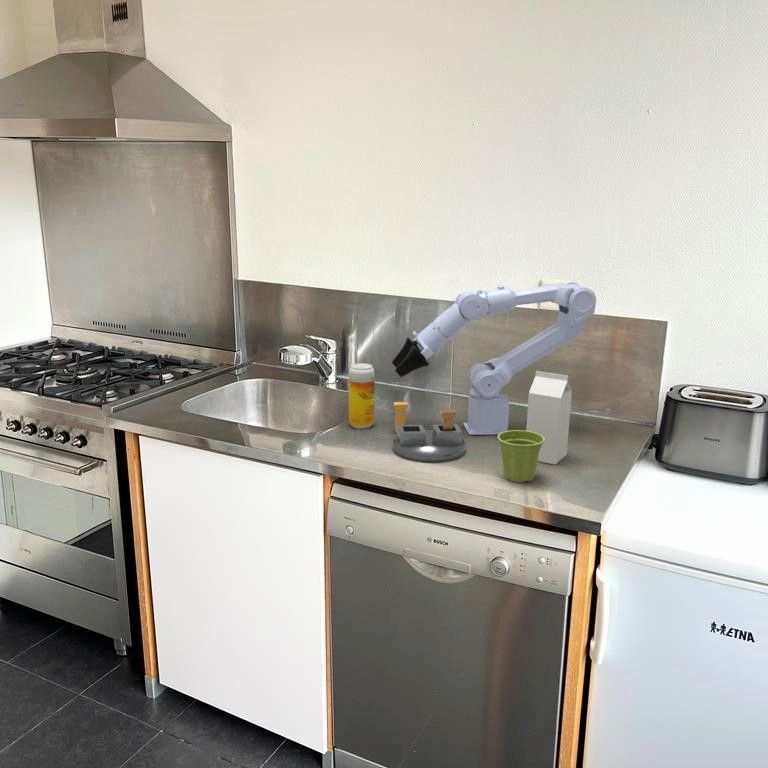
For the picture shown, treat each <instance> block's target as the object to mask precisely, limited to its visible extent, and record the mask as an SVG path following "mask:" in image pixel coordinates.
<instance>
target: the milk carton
mask: <svg viewBox="0 0 768 768" xmlns="http://www.w3.org/2000/svg"><path fill="white" fill-rule="evenodd" d="M572 395H573V389H572V386H571V385H570V382H569V375H567V374H559V373H554V372H545V371H540V370H535V376H534V378H533V382H532V383H531V387H530V388H529V392H528V402H527V414H526V415H527V417H526V430H525V431H531V432H535V433H538V434H540V435H542V436H543V437H544V438H545V441H544V443H543V444H542V447H541V449H540V451H539V456H538V461H537V462H540V463H546V464H551V465H557V464H558V463H559V462H560V461H562V460H563V459H564V458H565V457H566V456H567V454H568V443H569V431H570V430H569V429H570V418H571V406H572Z"/></svg>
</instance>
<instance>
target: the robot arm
mask: <svg viewBox="0 0 768 768" xmlns="http://www.w3.org/2000/svg"><path fill="white" fill-rule="evenodd" d="M454 301H455V302H454V303H453V304H452V305H451V306H449V307H448V308H447V309H445V310H444V311H443V312H441V314H439V315H438V317H436V318H435V319H434V320H433V321H432V322H431V323H429V324H428V325H427V326H426V327H425V328H424V329H422V330H421V331H420V332H419V333H417V332H416V331H415V330H414V331H413V332H412V334H413V335H414V337H415V338H413V340H411V339H410V337H406V340H405V342H404V344H403V345H402V347H401V349H400V351H399V352H397V355H395V357H394V358H393V360H392V361H391V364H392V365H393V366H394V367H395V370H394V371H395V372H396V374H398V376H399V377H400V378H403V377H405V376H406V375H408V374H410V373H411V372H413V371H416V370H418V369H420V368H421V369H422V368H424V367H428V366H429V365H430V363H429V362H428V359H429V358H431V356H433V355H435V353H436V352H437V351H438V350H440V348H442V347H443V346H445V344H446V343H447V342H449V340H451V339H452V338H453V337H454V336H455V335H457V334H458V333H459V332H460V331H461V330H462V329H463V328H464V327H466V325H468V324H469V323H470V322H471V321H472V320H474V321H478V320H480V318H482V317H483V316H485V317H486V316H492V315H498V314H504V313H509V312H510V313H511V312H512V311H513V310H514V309H515V308H516V306H522V305H523V306H524V305H530V304H539V303H548V302H549V303H554V304H556V305H558V315H557V321H556V322H555V323H553V324H552V325H551V326H549V327H546V329H544V330H542V331H541V332H539V333H537V334H536V335H534V336H532V337H531V338H529V339H527V340H526V341H525V342H523V343H521V344H520V345H518V346H516V347H515V348H513V349H511V350H510V351H508V352H506V353H504V354H503V355H502V356H500V357H495V358H491V359H489V360H487V361H486V362H480V363H479V362H478V363H476V364H474V365H473V366H472V367H470V369H469V371H468V375H467V378H468V381H469V383H470V385H471V388H470V389H469V391H468V406H467V407H468V409H467V413H468V414H467V422H463V424H462V425H463V426H464V429H465V430H466V432H467V433H468V435H470V436H471V435H472V436H473V435H474V436H475V435H477V436H478V435H479V436H480V435H481V436H482V435H483V436H484V435H487V436H488V435H489V436H491V435H498V434H500V433H502V432H504V431H509V430H508V429H509V415H510V402H509V397H508V395H507V394H506V393H505V394H503V393H500V392H501V391H502V389H503V388H504V387H505V386H506V385H508V384H510V381H511V380H512V378H513V376H514V375H516V374H517V373H520V372H521V371H523V370H524V369H526V368H527V367H530V366H531V365H532V364H534V363H535V362H537V361H538V360H540V359H542V358H544V357H545V356H547V355H549V354H550V353H551V352H553V351H555V350H557V349H558V348H560V347H561V346H563V345H565V344H566V343H568V342H570V341H572V340H573V339H575V338H576V337H577V336H579V334H580V332H581V331H582V329H583V328H584V326H585V325H586V323H587V321H588V320H589V318H590V317H592V316H593V314H595V310H596V305H597V297H596V293H595V292H594V291H593V290H592V289H591V288H588V287H584V286H582V285H580V284H578V283H577V282H566V283H564V282H559V283H557V282H556V283H552V284H546V285H542V286H535V287H532V288H531V287H530V288H526V289H520V290H517V291H514V290H513V289H511V287H509V286H506V287H505V286H504V285H497V288H492V289H487V290H486V289H485V290H483V289H482V288H479V289H477V291H476V293H475V292H472V291H465V292H463V293H458V295H457V296H456V298H455V300H454Z"/></svg>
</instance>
